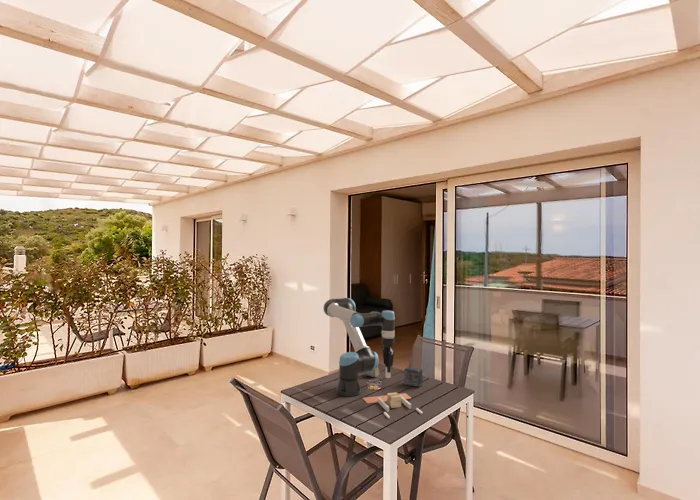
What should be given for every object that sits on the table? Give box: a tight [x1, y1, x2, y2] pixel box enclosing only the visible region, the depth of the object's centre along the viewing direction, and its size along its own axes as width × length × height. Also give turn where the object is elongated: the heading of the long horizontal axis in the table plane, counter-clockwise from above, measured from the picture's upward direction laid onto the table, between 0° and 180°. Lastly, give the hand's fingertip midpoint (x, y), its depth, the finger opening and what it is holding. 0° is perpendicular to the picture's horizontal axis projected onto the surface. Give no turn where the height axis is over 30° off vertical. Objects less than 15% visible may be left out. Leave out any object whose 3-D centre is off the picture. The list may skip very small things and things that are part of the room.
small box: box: [404, 366, 423, 388], centre depth 239 cm, size 11×6×10 cm, turn 58°
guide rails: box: [378, 395, 412, 413], centre depth 205 cm, size 14×14×2 cm
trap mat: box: [362, 392, 412, 405], centre depth 215 cm, size 8×28×1 cm, turn 107°
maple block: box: [386, 392, 402, 409], centre depth 205 cm, size 6×6×6 cm
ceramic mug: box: [364, 367, 380, 378], centre depth 256 cm, size 11×8×8 cm
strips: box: [383, 407, 424, 419], centre depth 194 cm, size 6×20×1 cm, turn 107°
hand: (388, 377), depth 214 cm, fingers closed
